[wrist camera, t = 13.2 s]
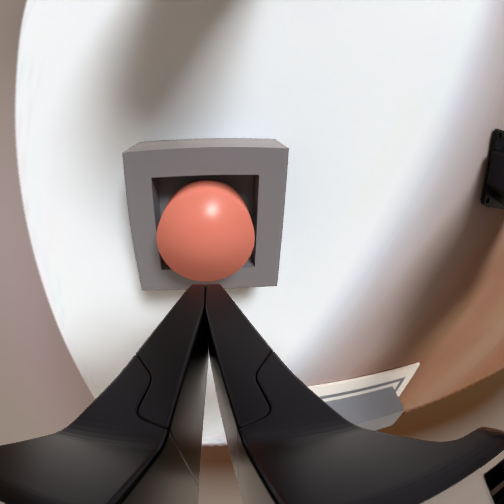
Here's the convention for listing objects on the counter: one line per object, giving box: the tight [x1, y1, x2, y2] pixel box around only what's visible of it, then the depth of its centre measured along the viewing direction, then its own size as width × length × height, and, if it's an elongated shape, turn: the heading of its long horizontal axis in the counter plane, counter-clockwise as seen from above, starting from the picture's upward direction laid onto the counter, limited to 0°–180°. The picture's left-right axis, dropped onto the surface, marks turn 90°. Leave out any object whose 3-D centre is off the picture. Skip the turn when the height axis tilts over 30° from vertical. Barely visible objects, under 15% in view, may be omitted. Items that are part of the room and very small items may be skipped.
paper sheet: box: [307, 362, 420, 402], centre depth 28 cm, size 16×10×1 cm, turn 88°
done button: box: [156, 179, 255, 281], centre depth 13 cm, size 4×4×2 cm
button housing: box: [123, 138, 289, 290], centre depth 14 cm, size 7×7×3 cm
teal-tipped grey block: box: [325, 386, 404, 431], centre depth 27 cm, size 11×4×4 cm, turn 88°
